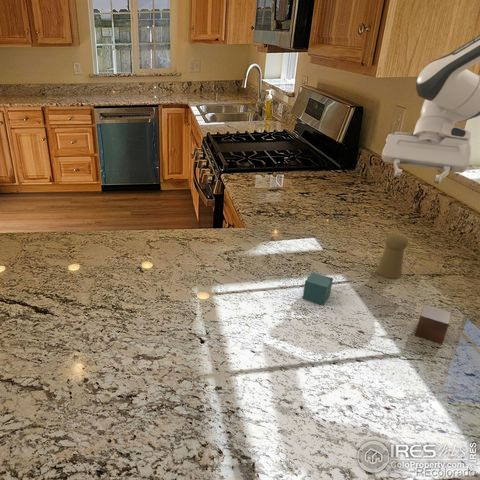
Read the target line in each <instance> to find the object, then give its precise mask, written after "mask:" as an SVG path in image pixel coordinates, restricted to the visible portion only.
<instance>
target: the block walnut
mask: <svg viewBox="0 0 480 480" xmlns="http://www.w3.org/2000/svg"><path fill="white" fill-rule="evenodd" d="M451 317H452V312H451V311H448V310H443V309H440V308H437V307H434V306H432V305H431V306H430V305H428V304H423V306H422V308H421V312H420V315H419V318H418V322H417V326H416V328H415V332H414V336H415V337H418V338H423V339H426V340H429V341H432V342H435V343H437V344H441V345H443V343H444V340H445V338H446V334H447V331H448V328H449V325H450V322H451Z"/></svg>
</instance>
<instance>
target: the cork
mask: <svg viewBox="0 0 480 480" xmlns="http://www.w3.org/2000/svg"><path fill="white" fill-rule="evenodd" d="M384 244H385V248H384V251H383V252H382V255H381V257H380V260H379V262H378V265H377V268H376V270H375V273H376V274H378V275H379V276H381V277H382V278H385V279H392V280H396V279H400V278H402V272H403V261H404V254H405V253H404V252H405V249H407V247H408V245H409V239H408V237H406V235H404V234H401V233H397V232H395V233H394V232H393V233H389V234H388V235H387V236H386V237H385V240H384Z"/></svg>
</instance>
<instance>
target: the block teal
mask: <svg viewBox="0 0 480 480" xmlns="http://www.w3.org/2000/svg"><path fill="white" fill-rule="evenodd" d="M333 282H334V278H333V277H330V276H326V275H323V274H320V273H316V272H311V273H310V275H309V276H308V277H307V278H306V279H305V281H304V288H303V294H302V300H305V301H309V302H312V303H315V304H317V305H320V306H325V304H326V303H327V301H328V299H329V298H330V297H331V291H332V287H333Z"/></svg>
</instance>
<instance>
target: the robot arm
mask: <svg viewBox="0 0 480 480" xmlns="http://www.w3.org/2000/svg"><path fill="white" fill-rule="evenodd" d="M478 63H480V34H479V35H477V36H476V37H474V38H472V39H471V40H469V41H467V42H466V43H464V44H462V45H460V46H459V47H458V48H455V49H454V50H453V51H450V52H449V53H447V54H445V55H443V56H440V57H438V58H436V59H434V60H432V61H430V62H428V63H427V64H426V65H425V66H424V67H423V68H422V69H421V70H420V72H419V73H418V75H417V77H416V80H415V89H416V93H417V96H418V97H420V98H422V99H424V101H423V103H422V106H421V109H420V111H419V112H420V117H419V118H418V120H417V121H416V124H415V126H414V129H413V132H401V131H394V132H391V133H389V134H387V137H386V139H385V145H384V147H383V149H382V152H381V160H382V161H383V162H384V163H387V164H388V163H389V164H393V165H392V166H393V170H394V174H393V177H394V178H398V179H400V178H401V175H402V174H403V173H402V172H403V169H402V168H399V167H400V165H403V166H410V167H416V168H423V169H432V170H438V171H442V173H440V174H436V175H435V177H434V181H433V184H435V185H436V184H437V185H441V183H442V180H444V179H445V178H446V177H447V176H448V175H449V174H450V172H451V173H458V174H463V173H464V172H466V171H467V170H468V167H469V164H470V161H471V160H470V159H471V155H472V145H471V136H472V135H471V131H469V130H467V129H463V128H461V127H458V126H455V124H456V123H457V122H458V123H461V122H465V121H468V120H472V119H475V118H477V117H479V116H480V75H479V74H477V73H474V72H473V71H471V70H469V69H470V68H471V67H473V66H475V65H477V64H478Z"/></svg>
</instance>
